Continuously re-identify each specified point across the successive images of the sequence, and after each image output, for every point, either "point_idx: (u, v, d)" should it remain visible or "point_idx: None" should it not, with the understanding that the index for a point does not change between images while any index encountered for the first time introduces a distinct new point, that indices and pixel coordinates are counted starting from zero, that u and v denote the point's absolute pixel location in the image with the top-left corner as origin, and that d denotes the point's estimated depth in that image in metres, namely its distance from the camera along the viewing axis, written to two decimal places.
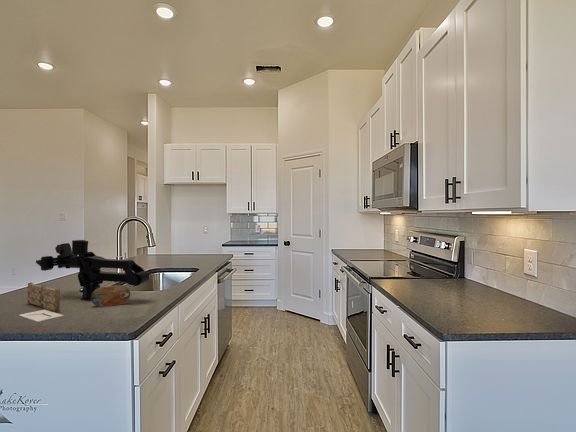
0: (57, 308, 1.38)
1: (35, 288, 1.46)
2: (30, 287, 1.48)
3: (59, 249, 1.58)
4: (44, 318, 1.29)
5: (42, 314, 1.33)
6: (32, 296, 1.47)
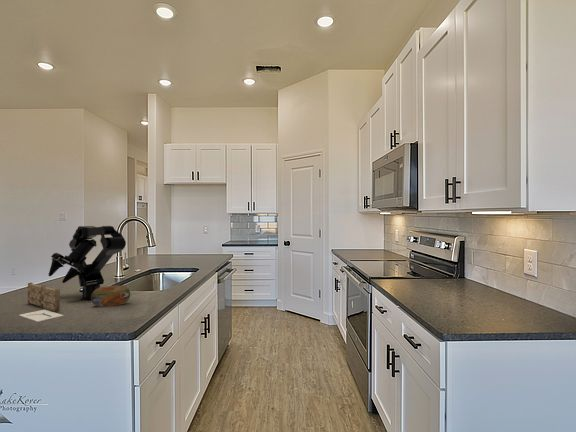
0: (57, 308, 1.38)
1: (35, 288, 1.46)
2: (30, 287, 1.48)
3: None
4: (44, 318, 1.29)
5: (42, 314, 1.33)
6: (32, 296, 1.47)
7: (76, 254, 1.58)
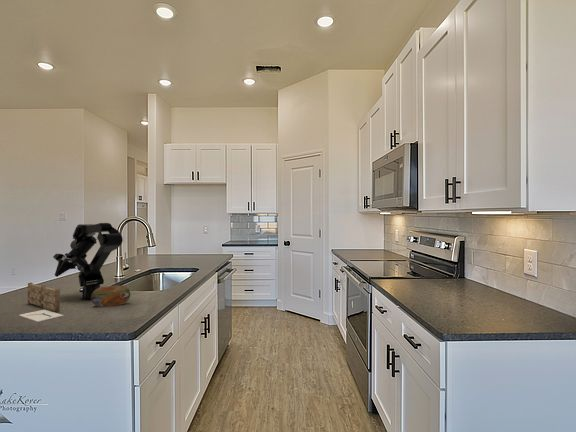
0: (57, 308, 1.38)
1: (35, 288, 1.46)
2: (30, 287, 1.48)
3: None
4: (44, 318, 1.29)
5: (42, 314, 1.33)
6: (32, 296, 1.47)
7: (75, 250, 1.59)
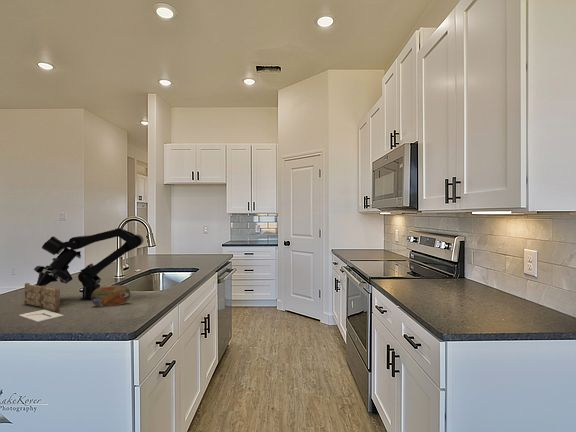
0: (57, 308, 1.38)
1: (34, 288, 1.45)
2: (27, 287, 1.47)
3: None
4: (44, 318, 1.29)
5: (42, 314, 1.33)
6: (30, 296, 1.47)
7: (56, 262, 1.52)
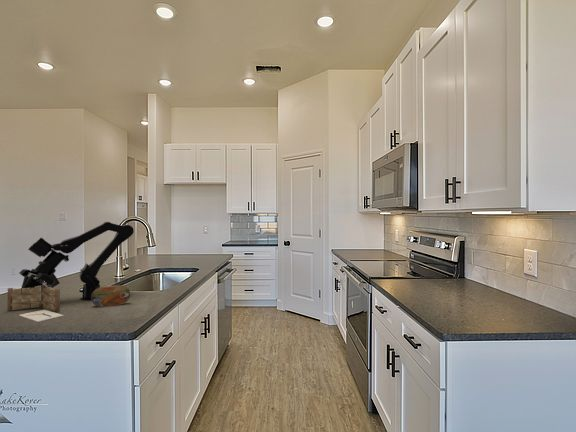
0: (57, 308, 1.38)
1: (27, 291, 1.41)
2: (14, 292, 1.39)
3: None
4: (44, 318, 1.29)
5: (42, 314, 1.33)
6: (19, 301, 1.40)
7: (42, 266, 1.47)
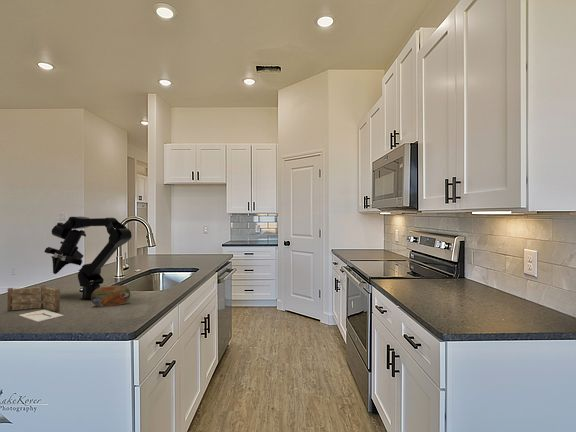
0: (57, 308, 1.38)
1: (27, 291, 1.41)
2: (14, 292, 1.39)
3: None
4: (44, 318, 1.29)
5: (42, 314, 1.33)
6: (19, 301, 1.40)
7: (66, 247, 1.59)
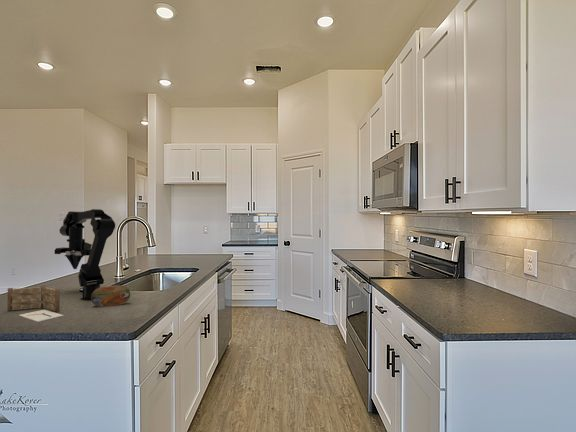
0: (57, 308, 1.38)
1: (27, 291, 1.41)
2: (14, 292, 1.39)
3: None
4: (44, 318, 1.29)
5: (42, 314, 1.33)
6: (19, 301, 1.40)
7: (75, 243, 1.66)
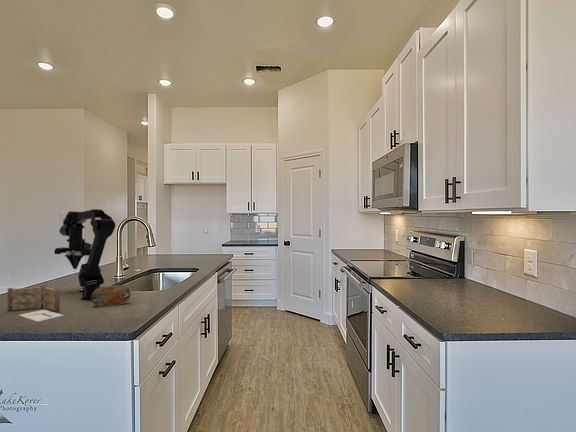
0: (57, 308, 1.38)
1: (27, 291, 1.41)
2: (14, 292, 1.39)
3: None
4: (44, 318, 1.29)
5: (42, 314, 1.33)
6: (19, 301, 1.40)
7: (75, 243, 1.66)
